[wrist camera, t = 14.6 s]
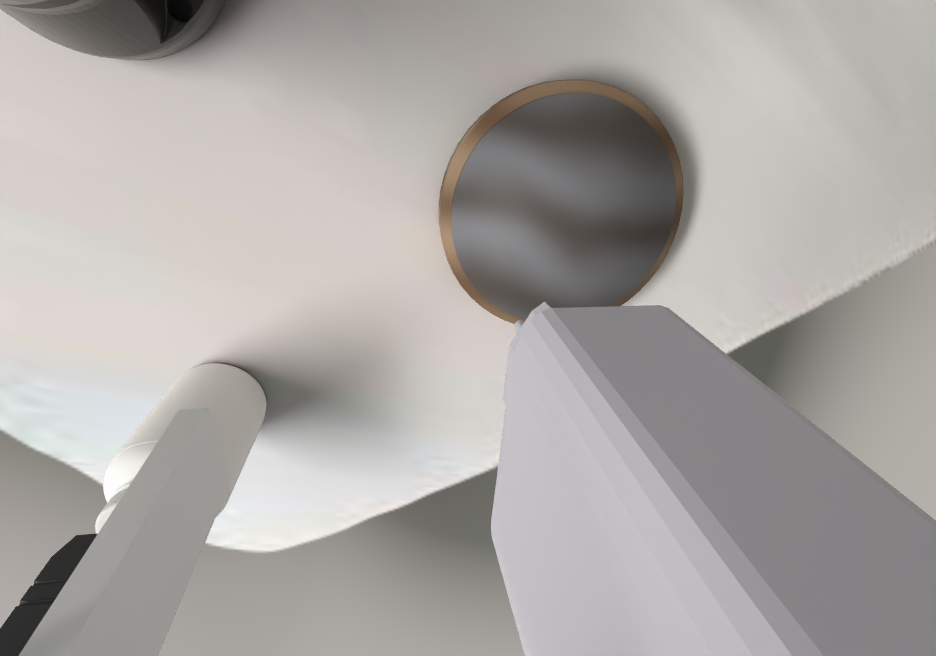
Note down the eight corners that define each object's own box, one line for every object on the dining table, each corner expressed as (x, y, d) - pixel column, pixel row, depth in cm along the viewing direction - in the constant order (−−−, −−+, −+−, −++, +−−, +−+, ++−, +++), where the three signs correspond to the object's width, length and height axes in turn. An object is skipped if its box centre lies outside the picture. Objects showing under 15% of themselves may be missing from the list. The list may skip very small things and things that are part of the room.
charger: (592, 233, 18) (1143, 639, 5) (555, 427, 23) (816, 911, 10) (469, 232, 17) (783, 719, 5) (455, 434, 22) (596, 983, 9)
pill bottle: (271, 365, 43) (209, 493, 29) (266, 438, 46) (208, 583, 33) (172, 353, 41) (59, 481, 28) (174, 429, 44) (74, 577, 31)
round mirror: (445, 69, 34) (447, 67, 32) (698, 91, 37) (717, 91, 34) (433, 316, 42) (434, 329, 40) (641, 321, 45) (653, 333, 43)
